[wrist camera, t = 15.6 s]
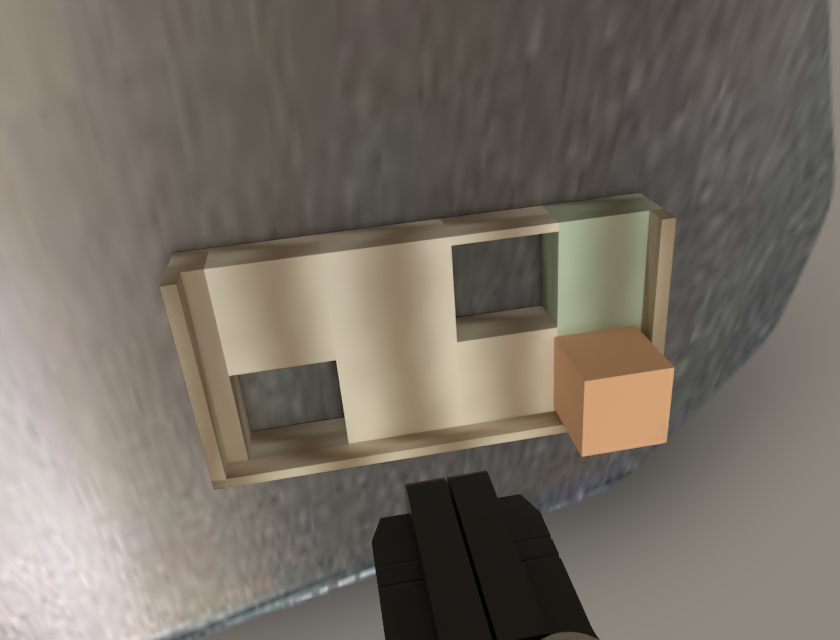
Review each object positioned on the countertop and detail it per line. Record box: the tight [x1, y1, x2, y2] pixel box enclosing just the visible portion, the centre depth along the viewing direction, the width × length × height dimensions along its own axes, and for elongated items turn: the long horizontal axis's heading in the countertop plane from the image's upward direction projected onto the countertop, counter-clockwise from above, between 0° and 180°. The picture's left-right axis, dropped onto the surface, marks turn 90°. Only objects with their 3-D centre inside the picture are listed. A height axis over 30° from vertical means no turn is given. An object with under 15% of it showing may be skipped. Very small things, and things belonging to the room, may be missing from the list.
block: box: [553, 325, 674, 457], centre depth 42 cm, size 5×5×5 cm
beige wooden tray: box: [160, 193, 676, 490], centre depth 42 cm, size 27×13×4 cm, turn 95°
